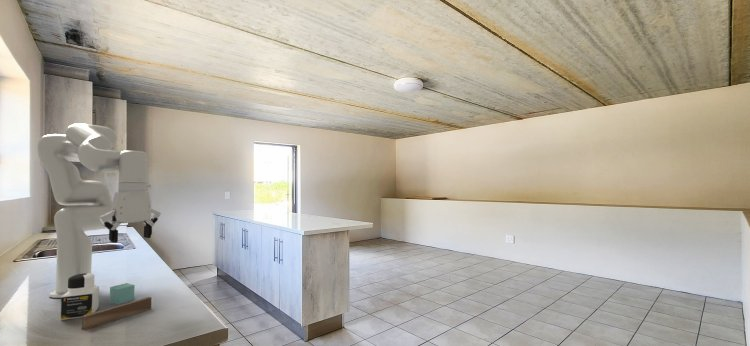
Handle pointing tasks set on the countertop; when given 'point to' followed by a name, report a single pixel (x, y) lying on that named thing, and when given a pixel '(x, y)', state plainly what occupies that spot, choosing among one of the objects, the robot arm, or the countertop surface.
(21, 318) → the countertop surface
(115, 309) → the walnut fence
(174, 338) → the countertop surface
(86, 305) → the medicine bottle
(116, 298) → the teal block
